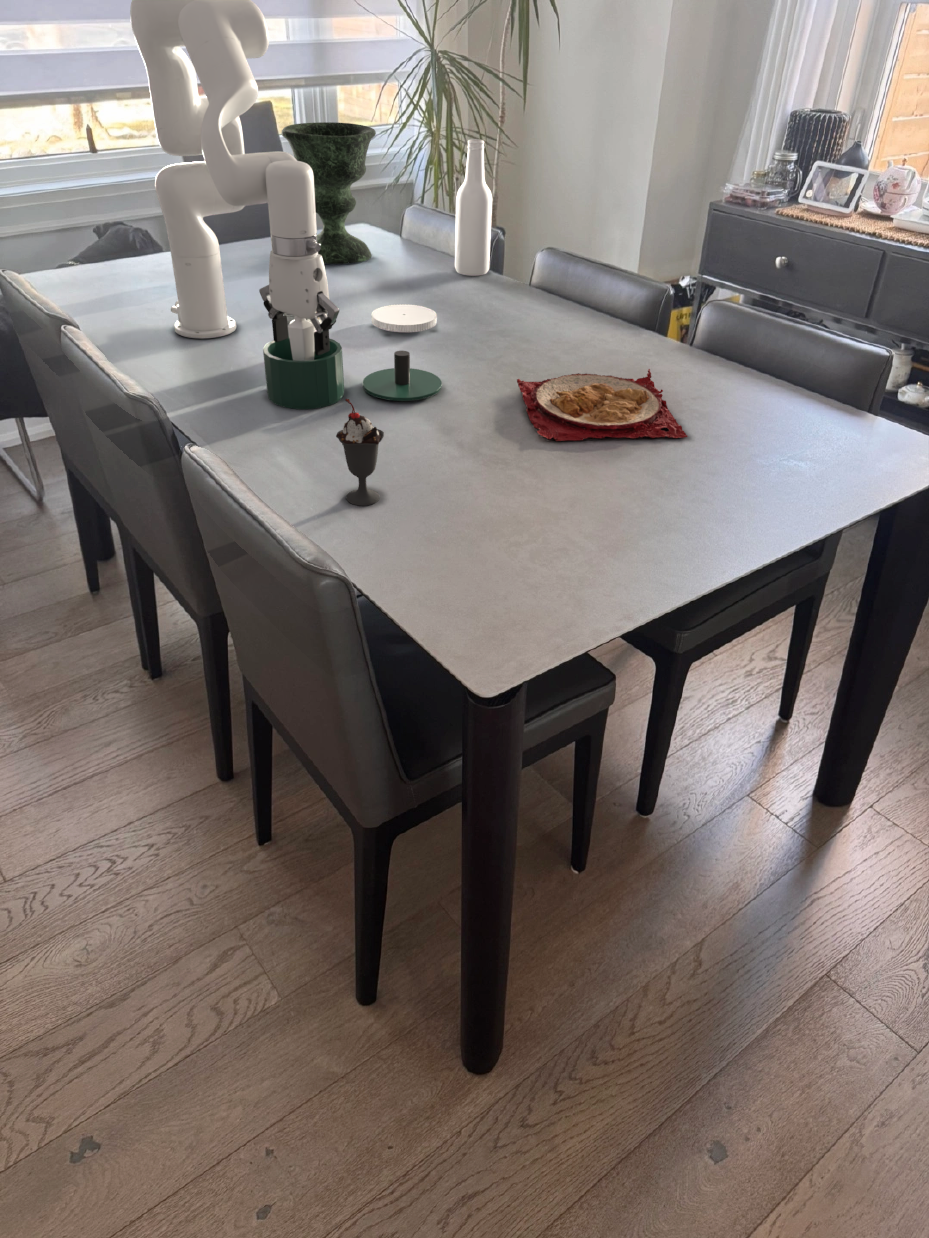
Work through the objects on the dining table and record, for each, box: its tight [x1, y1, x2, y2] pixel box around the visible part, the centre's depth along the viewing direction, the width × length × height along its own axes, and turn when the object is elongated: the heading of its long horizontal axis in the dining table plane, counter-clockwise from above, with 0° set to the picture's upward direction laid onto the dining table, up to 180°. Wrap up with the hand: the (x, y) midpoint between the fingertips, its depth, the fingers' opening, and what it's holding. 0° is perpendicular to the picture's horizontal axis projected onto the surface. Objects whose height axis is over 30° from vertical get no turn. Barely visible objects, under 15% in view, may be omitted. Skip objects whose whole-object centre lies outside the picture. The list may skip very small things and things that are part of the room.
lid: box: [362, 350, 443, 402], centre depth 168 cm, size 15×15×7 cm
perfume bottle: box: [288, 316, 314, 361], centre depth 161 cm, size 5×4×15 cm
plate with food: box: [516, 368, 689, 442], centre depth 162 cm, size 24×26×3 cm
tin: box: [262, 337, 345, 410], centre depth 164 cm, size 14×14×8 cm
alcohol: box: [454, 138, 493, 277], centre depth 225 cm, size 9×9×30 cm
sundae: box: [335, 398, 385, 507], centre depth 131 cm, size 7×7×15 cm
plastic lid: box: [370, 303, 438, 333], centre depth 197 cm, size 14×14×2 cm
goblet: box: [280, 121, 377, 265], centre depth 233 cm, size 22×22×30 cm
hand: (301, 346), depth 161 cm, fingers open, 9 cm apart
